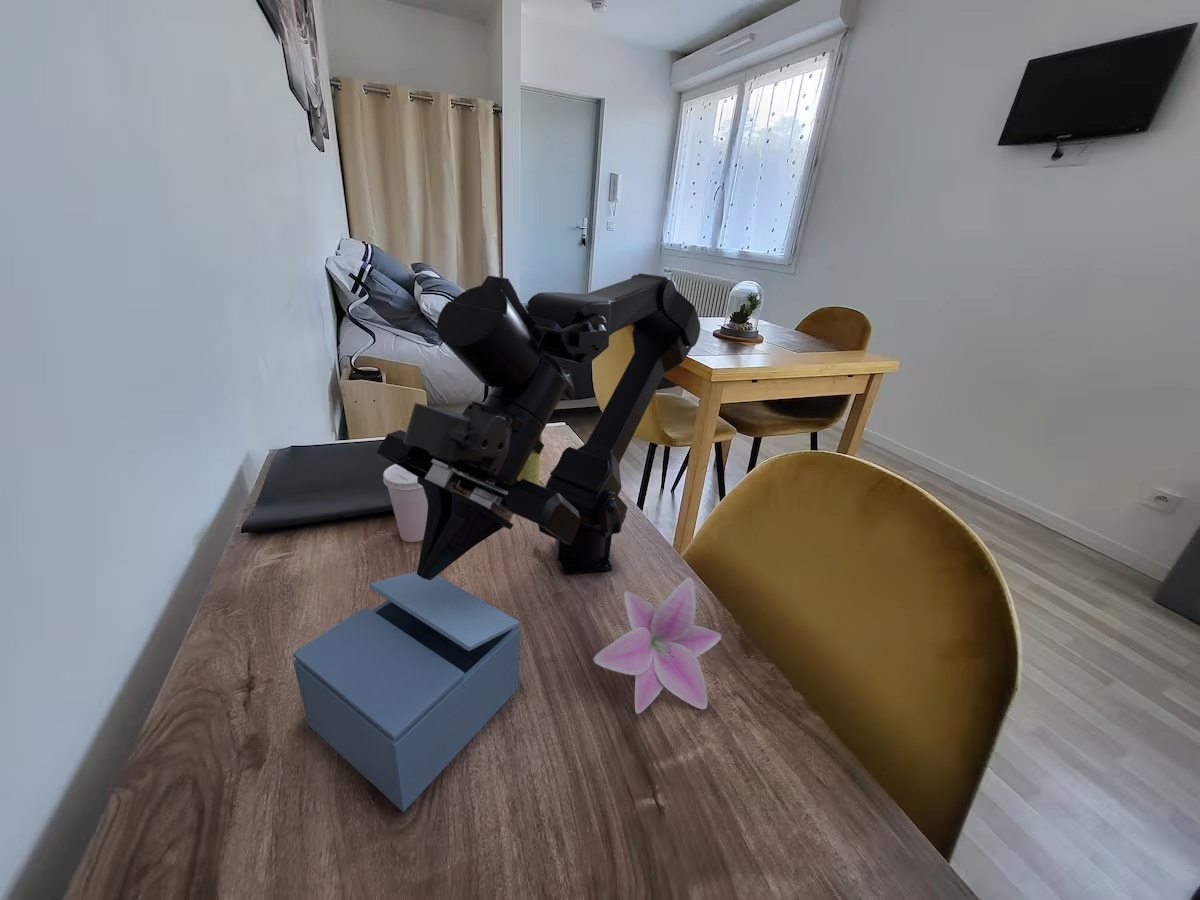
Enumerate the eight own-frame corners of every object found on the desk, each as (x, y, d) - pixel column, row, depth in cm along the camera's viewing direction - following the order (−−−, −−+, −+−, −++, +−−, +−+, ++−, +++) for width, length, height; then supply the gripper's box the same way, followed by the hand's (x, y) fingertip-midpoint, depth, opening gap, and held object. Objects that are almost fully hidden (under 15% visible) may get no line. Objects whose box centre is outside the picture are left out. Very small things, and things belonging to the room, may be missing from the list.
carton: (430, 631, 51) (425, 568, 48) (518, 688, 46) (520, 621, 42) (307, 725, 41) (290, 653, 37) (403, 812, 36) (393, 738, 32)
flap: (425, 572, 48) (426, 568, 48) (519, 625, 43) (520, 621, 43) (368, 587, 42) (369, 583, 42) (468, 651, 37) (469, 646, 37)
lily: (569, 695, 47) (598, 672, 40) (605, 587, 55) (634, 551, 47) (681, 744, 47) (730, 730, 40) (701, 630, 55) (745, 601, 48)
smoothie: (387, 550, 63) (375, 452, 57) (392, 523, 68) (382, 431, 62) (439, 545, 64) (433, 450, 59) (439, 519, 70) (434, 430, 64)
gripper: (384, 339, 40) (270, 507, 36) (569, 391, 32) (448, 616, 28) (458, 405, 50) (375, 544, 46) (615, 458, 42) (531, 633, 38)
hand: (423, 577), depth 39 cm, fingers closed
